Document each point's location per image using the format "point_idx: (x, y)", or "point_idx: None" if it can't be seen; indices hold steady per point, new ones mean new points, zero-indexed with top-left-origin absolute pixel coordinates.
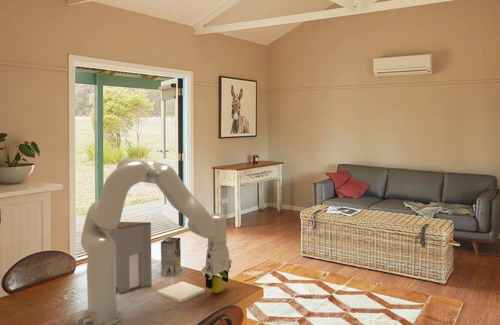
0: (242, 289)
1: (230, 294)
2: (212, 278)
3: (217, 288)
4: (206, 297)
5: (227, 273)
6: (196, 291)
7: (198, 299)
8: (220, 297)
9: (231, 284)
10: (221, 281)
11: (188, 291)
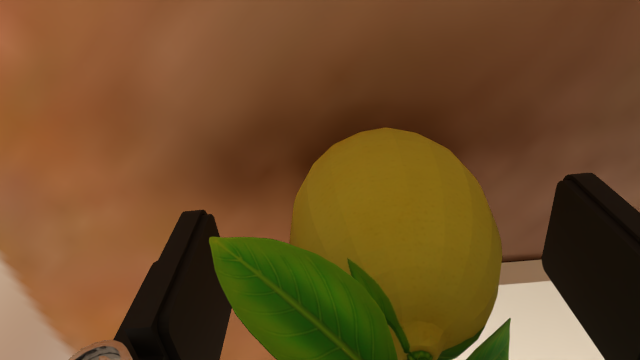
0: (31, 49)
1: (268, 36)
2: (494, 338)
3: (452, 155)
4: (528, 167)
5: (155, 318)
6: (532, 299)
7: (620, 184)
8: (429, 56)
9: (85, 239)
10: (385, 204)
11: (574, 338)
